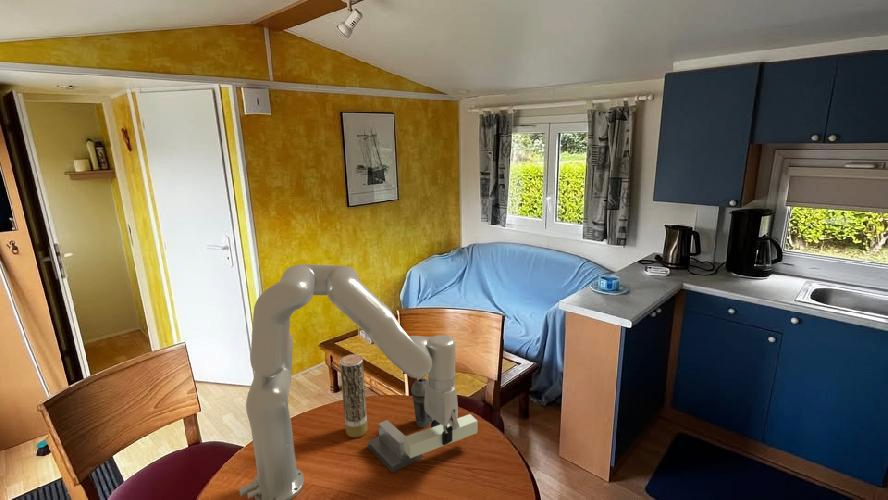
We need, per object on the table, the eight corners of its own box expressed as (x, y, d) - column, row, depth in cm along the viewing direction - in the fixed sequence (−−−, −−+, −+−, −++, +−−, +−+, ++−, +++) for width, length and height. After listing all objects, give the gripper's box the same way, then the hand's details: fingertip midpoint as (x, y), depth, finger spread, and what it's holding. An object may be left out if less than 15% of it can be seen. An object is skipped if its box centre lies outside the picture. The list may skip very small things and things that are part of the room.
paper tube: (370, 425, 142) (365, 354, 137) (364, 439, 136) (358, 365, 130) (349, 424, 143) (343, 354, 137) (342, 438, 136) (336, 364, 131)
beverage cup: (408, 428, 141) (406, 371, 136) (416, 415, 147) (414, 360, 143) (430, 431, 138) (428, 374, 134) (437, 418, 145) (435, 363, 141)
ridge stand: (392, 473, 121) (391, 451, 120) (367, 447, 132) (366, 426, 130) (422, 457, 127) (421, 436, 126) (396, 433, 138) (395, 413, 136)
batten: (410, 458, 119) (410, 445, 118) (404, 449, 122) (403, 437, 121) (477, 432, 130) (477, 420, 129) (469, 425, 133) (470, 414, 132)
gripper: (413, 372, 126) (413, 429, 130) (450, 398, 113) (450, 459, 117) (434, 364, 130) (434, 419, 134) (472, 388, 117) (471, 448, 121)
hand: (441, 437), depth 125 cm, fingers closed on batten, 4 cm apart
